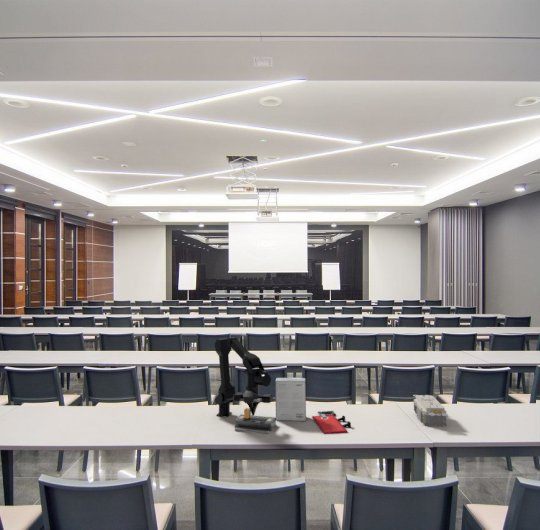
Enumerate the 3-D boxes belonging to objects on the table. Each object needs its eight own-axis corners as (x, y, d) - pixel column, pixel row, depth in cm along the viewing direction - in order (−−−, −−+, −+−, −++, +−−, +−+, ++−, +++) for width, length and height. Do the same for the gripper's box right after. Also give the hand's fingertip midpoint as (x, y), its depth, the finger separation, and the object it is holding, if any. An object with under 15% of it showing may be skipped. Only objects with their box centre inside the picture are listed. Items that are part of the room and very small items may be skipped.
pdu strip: (241, 421, 210) (241, 414, 210) (275, 424, 205) (275, 417, 205) (234, 427, 201) (234, 419, 201) (270, 431, 196) (270, 423, 196)
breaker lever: (246, 416, 206) (246, 407, 206) (250, 416, 205) (250, 408, 205) (244, 418, 203) (244, 409, 203) (248, 418, 202) (248, 410, 202)
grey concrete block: (431, 410, 226) (431, 392, 226) (451, 433, 198) (452, 412, 197) (409, 409, 227) (409, 391, 226) (426, 432, 198) (427, 411, 198)
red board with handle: (336, 412, 225) (308, 414, 223) (336, 407, 225) (308, 408, 223) (355, 433, 195) (323, 435, 193) (355, 427, 195) (323, 429, 193)
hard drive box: (306, 416, 218) (306, 377, 218) (306, 421, 210) (305, 381, 211) (276, 415, 219) (276, 377, 220) (275, 420, 211) (275, 380, 212)
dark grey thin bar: (235, 428, 199) (235, 426, 199) (269, 432, 195) (269, 430, 195) (233, 430, 197) (233, 428, 197) (267, 434, 192) (267, 432, 192)
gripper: (228, 386, 199) (229, 419, 198) (266, 388, 194) (267, 422, 193) (236, 380, 209) (237, 412, 209) (272, 382, 204) (273, 414, 204)
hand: (253, 415), depth 203 cm, fingers closed
